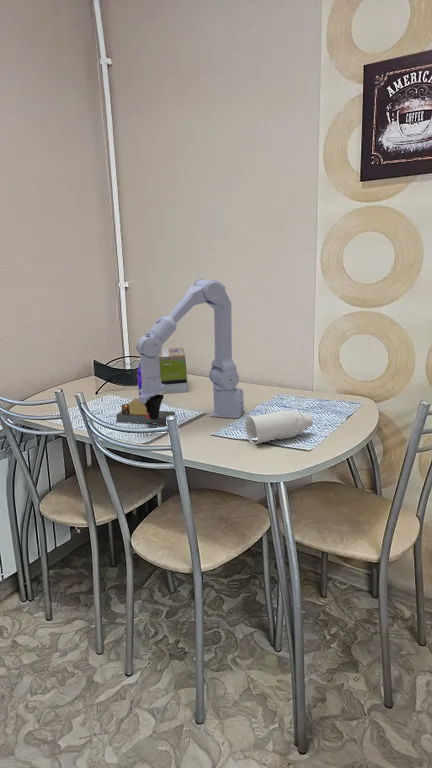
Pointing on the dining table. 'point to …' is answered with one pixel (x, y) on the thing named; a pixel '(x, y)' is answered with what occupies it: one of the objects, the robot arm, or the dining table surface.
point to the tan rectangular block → (137, 408)
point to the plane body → (141, 416)
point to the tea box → (173, 370)
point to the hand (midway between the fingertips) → (154, 418)
